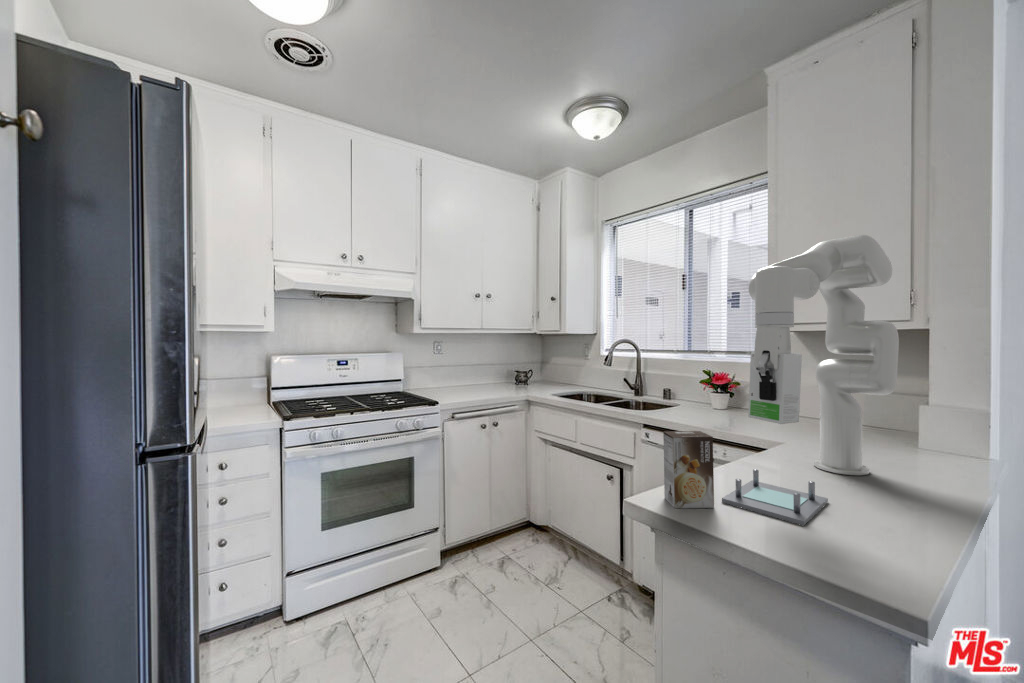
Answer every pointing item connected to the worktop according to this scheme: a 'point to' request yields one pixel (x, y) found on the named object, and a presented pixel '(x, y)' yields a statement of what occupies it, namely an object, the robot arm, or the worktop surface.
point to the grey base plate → (776, 502)
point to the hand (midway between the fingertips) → (774, 397)
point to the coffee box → (688, 469)
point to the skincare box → (778, 391)
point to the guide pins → (796, 495)
